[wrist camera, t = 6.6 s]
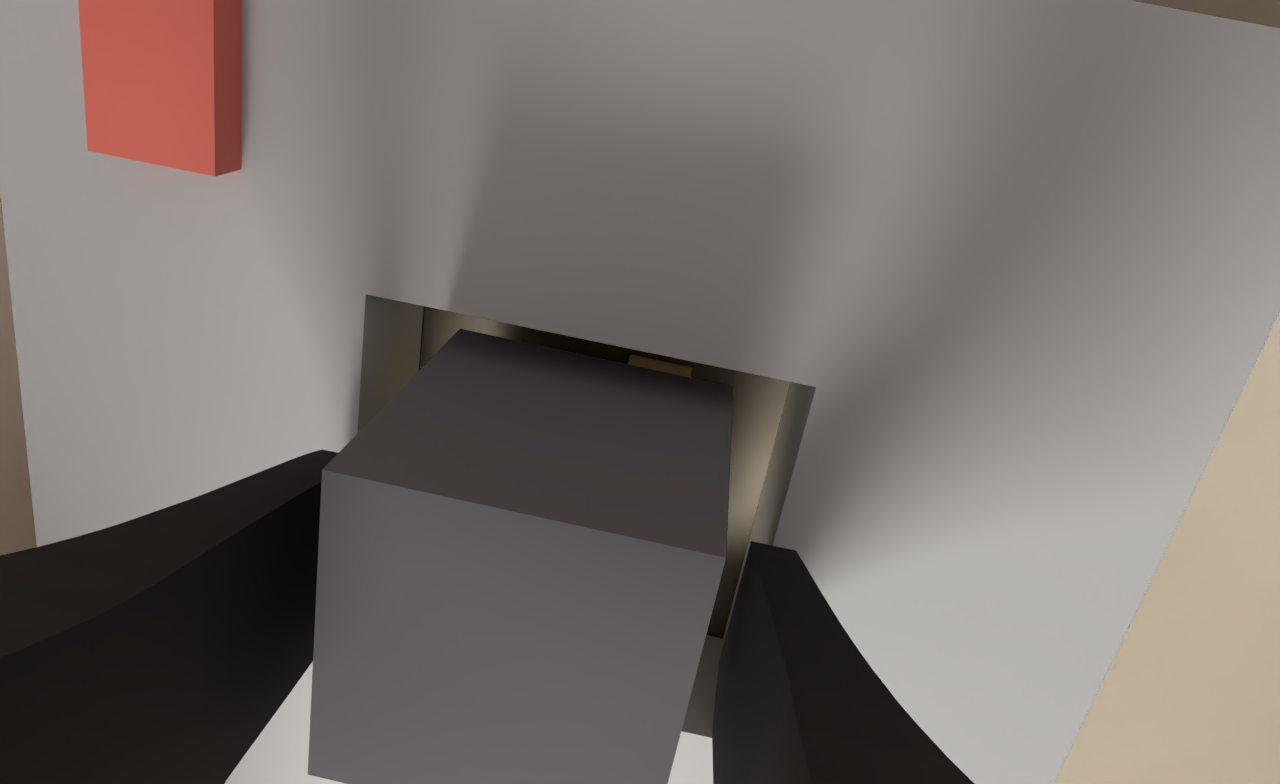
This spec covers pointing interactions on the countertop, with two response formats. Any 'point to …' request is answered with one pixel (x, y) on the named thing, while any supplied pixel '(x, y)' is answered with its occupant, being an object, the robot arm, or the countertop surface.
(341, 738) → the plug
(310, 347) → the socket plate
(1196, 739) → the countertop surface
